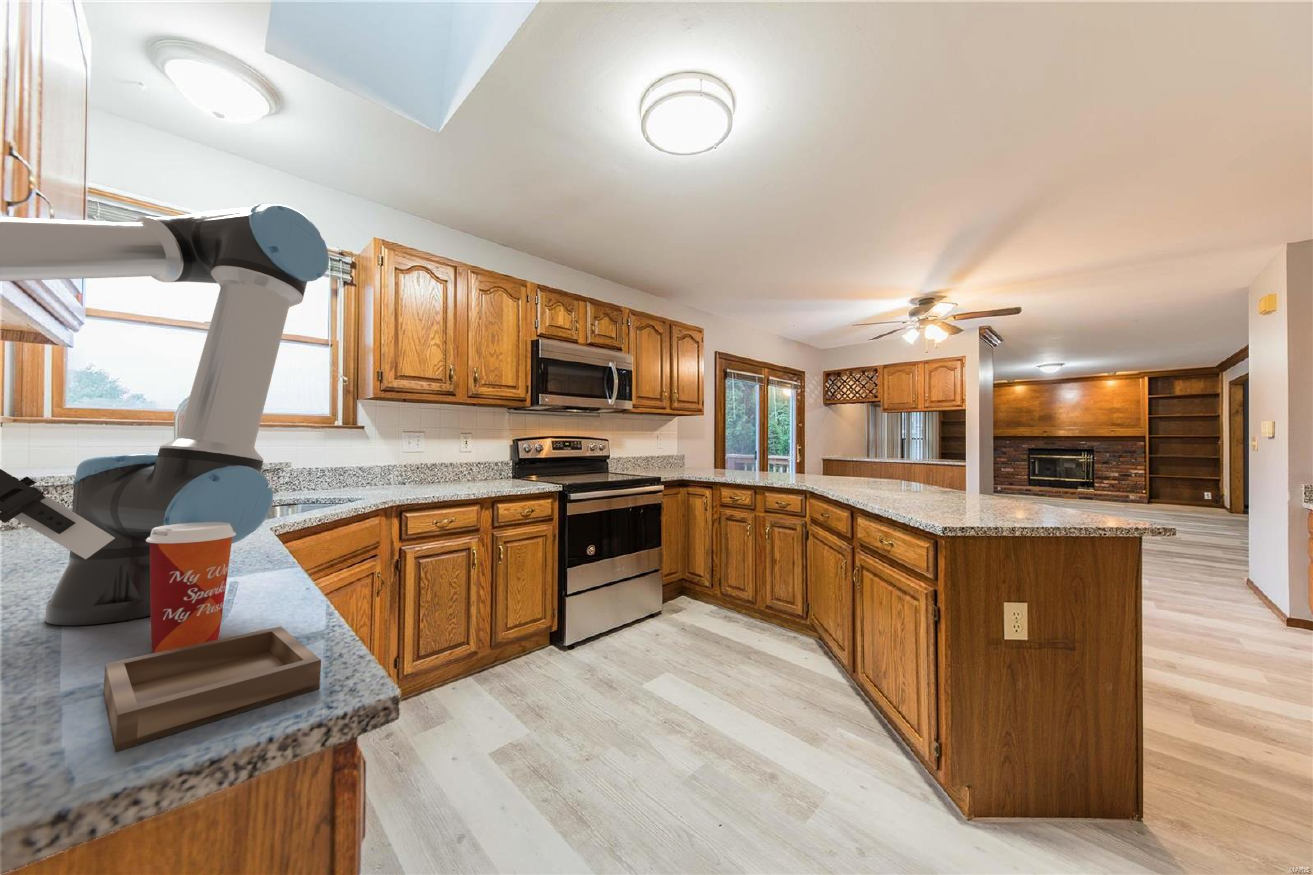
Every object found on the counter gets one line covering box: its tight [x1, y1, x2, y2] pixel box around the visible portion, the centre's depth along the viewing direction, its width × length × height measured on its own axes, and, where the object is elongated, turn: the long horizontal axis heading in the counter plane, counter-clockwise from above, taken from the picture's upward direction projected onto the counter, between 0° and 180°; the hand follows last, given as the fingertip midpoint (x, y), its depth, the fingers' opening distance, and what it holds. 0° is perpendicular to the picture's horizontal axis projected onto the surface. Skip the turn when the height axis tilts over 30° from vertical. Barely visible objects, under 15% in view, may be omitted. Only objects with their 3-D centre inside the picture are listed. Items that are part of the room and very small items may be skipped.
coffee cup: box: [146, 522, 236, 654], centre depth 61 cm, size 8×8×15 cm
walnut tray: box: [102, 626, 322, 752], centre depth 50 cm, size 14×14×3 cm
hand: (88, 540), depth 54 cm, fingers open, 13 cm apart
